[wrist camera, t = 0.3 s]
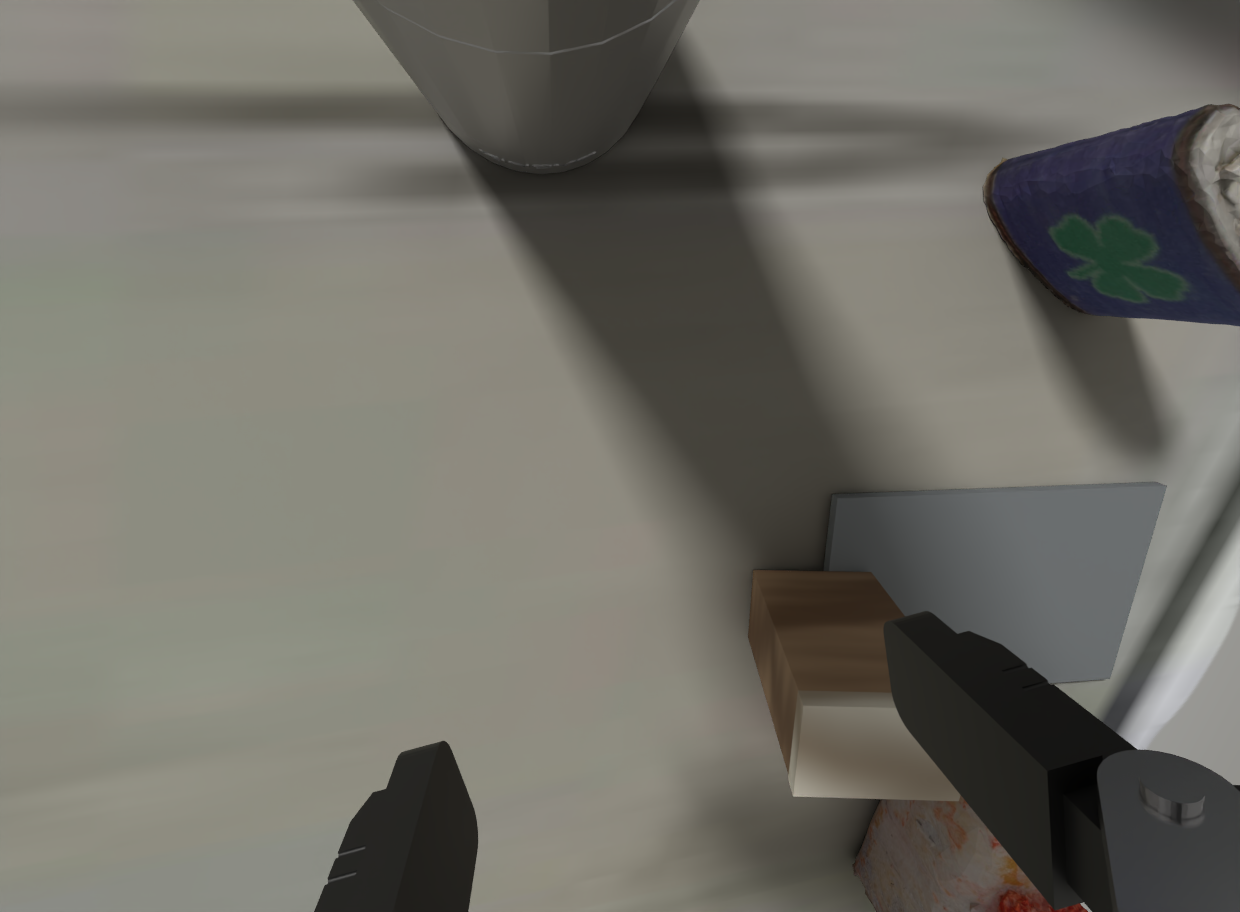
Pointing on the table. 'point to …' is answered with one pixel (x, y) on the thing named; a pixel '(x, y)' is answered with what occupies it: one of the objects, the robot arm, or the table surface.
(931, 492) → the mat
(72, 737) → the table surface
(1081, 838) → the robot arm
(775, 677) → the wooden block
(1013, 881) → the food item
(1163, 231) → the flask
